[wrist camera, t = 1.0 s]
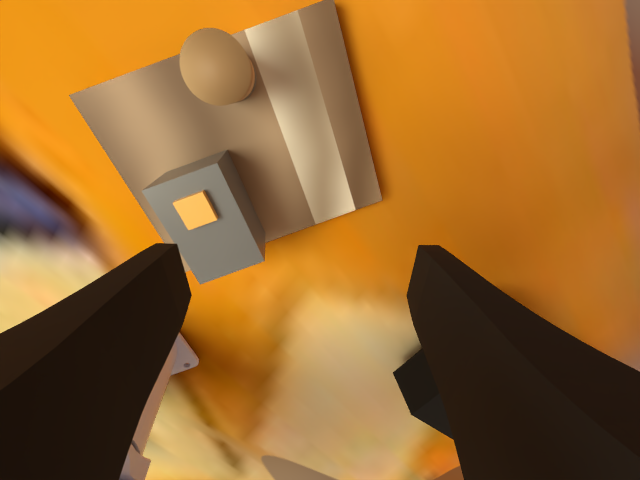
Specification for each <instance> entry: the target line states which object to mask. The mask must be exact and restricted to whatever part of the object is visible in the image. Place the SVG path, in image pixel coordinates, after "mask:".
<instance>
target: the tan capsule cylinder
mask: <svg viewBox="0 0 640 480" xmlns="http://www.w3.org/2000/svg"><path fill="white" fill-rule="evenodd" d="M179 61H180V70H181V74H182V77H183V79H184V81H185V83H186V85H187V87H188V88H189V89H190V91H191V92H192V93H193V94H194V95H195V96H196V97H198V98H199V99H200V100H202V101H204V102H206V103H208V104H212V105H217V106H224V105H229V104H232V103H236V102H240V101H243V100H245V99H247V98H248V97H249V96H250V95H251V94H252V93H253V91H254V89H255V86H256V80H257V77H256V71H255V68H254V66H253V64H252V62H251V60H250V59H249V57H248V55H247V54H246V52H245V50H244V49H243V47H242V46H241V44H240V43H239V42H238V41H237V40H236V39H235V38H234V37H233V36H231V35H230V34H228V33H227V32H225V31H222V30H219V29H215V28H204V29H200V30H198V31H196V32H194V33H192V34H191V35H190V36H189V37H188V38H187V39H186V41H185V42H184V44H183V46H182V49H181V52H180V60H179Z"/></svg>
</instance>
